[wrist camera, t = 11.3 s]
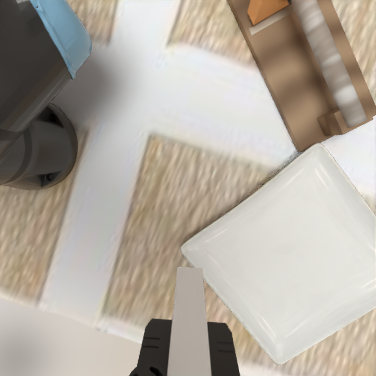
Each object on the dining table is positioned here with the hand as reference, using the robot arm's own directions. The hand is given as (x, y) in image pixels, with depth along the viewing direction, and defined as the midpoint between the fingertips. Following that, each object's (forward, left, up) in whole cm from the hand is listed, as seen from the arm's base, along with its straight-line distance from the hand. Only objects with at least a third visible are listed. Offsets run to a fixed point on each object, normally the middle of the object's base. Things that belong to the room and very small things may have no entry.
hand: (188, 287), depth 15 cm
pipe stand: (+11, +25, -27) cm, 38 cm away
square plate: (+17, -7, -28) cm, 33 cm away
